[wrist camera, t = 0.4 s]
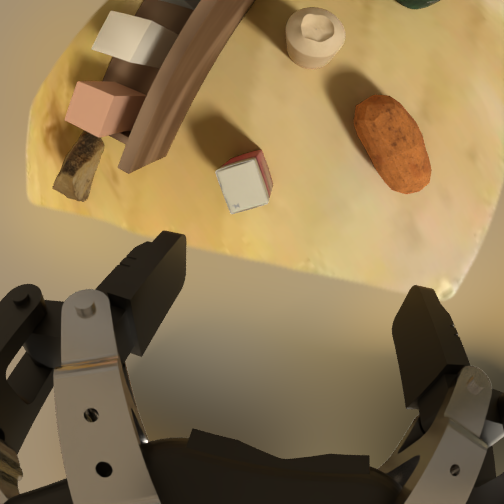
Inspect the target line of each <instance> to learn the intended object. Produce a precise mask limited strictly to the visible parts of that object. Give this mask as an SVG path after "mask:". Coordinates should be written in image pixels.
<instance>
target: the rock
mask: <svg viewBox="0 0 504 504" xmlns="http://www.w3.org/2000/svg"><path fill="white" fill-rule="evenodd" d="M103 150H104V144H103V142H102V140H101V138H98V137H97V136H95V135H93V134H91V133H89V132H87V131H84V132H83V133H82V134H81V135H80V137H79V140H78V141H77V142H76V143H75V144H74V146H73V147H72V149H71V150H70V152H69V153H68V154H67V156H66V158H65V160H64V162H63V165H62V168H61V170H60V172H59V174H58V176H57V177H56V179H55V182H54V186H53V189H54V190H57V191H58V192H60V193H62V194H64V195H65V196H66V197H67V198H70V199H75V200H77V201H82V202H84V201H86V200H87V199H88V196H89V193H90V188H91V184H92V181H93V177H94V174H95V171H96V169H97V166H98V164H99V162H100V158H101V154H102V153H103Z"/></svg>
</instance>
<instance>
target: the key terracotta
mask: <svg viewBox="0 0 504 504" xmlns="http://www.w3.org/2000/svg"><path fill="white" fill-rule="evenodd" d="M146 96H147V95H145V94H142V93H140V92H138V91H135V90H133V89H131V88H128V87H126V86H124V85H121V84H119V83H116V82H110V81H78V82H77V85H76V87H75V90H74V93H73V96H72V99H71V101H70V104H69V108H68V111H67V114H66V117H65V121H67V122H69V123H71V124H73V125H75V126H77V127H79V128H81V129H83V130H85V131H87V132H89V133H91V134H93V135H95V136H97V137H98V138H100V137H103V136H107V135H111V134H116V133H120V132H124V131H129V130H132V128H133V126H134V123H135V121H136V119H137V116H138V114H139V112H140V109H141V107H142V105H143V103H144V101H145V98H146Z"/></svg>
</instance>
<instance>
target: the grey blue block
mask: <svg viewBox="0 0 504 504" xmlns="http://www.w3.org/2000/svg"><path fill="white" fill-rule="evenodd" d="M161 1H165V2H169V3H172V4H176V5H179V6H183V7H186V8H189V9H193V10H195V8H196V7H197V5H198V4H199V2H200V1H201V0H161Z"/></svg>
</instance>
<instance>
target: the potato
mask: <svg viewBox="0 0 504 504" xmlns="http://www.w3.org/2000/svg"><path fill="white" fill-rule="evenodd" d="M354 126H355V129H356V132H357V135H358V137H359V139H360V140H361V142H362V144H363V146H364V147H365V149H366V151H367V153H368V155H369V156H370V158H371V160H372V162H373V164H374V166H375V168H376V170H377V172H378V173H379V175H380V176H381V177H382V179H383V180H384V182H385V183H386V184H387V185H388V186H389V187H390V188H391V189H392V190H394V191H397V192H400V193H404V194H409V193H414V192H418V191H420V190H421V189H423V188H424V187H425V186H426V185H427V184H428V183H429V181H430V176H431V166H430V161H429V157H428V154H427V151H426V148H425V144H424V140H423V136H422V134H421V132H420V129H419V127H418V125H417V123H416V121H415V120H414V119H413V118H412V117H411V115H410V114H409V113H408V112H407V111H406V110H405V108H404V107H403V106H402V105H401V104H400V103H399V102H398V101H396V100H395V99H393V98H392V97H390V96H385V95H373V96H371V97H369V98H368V99H366V100H364V101H363V102H361V103H360V104H358V105H356V109H355V115H354Z"/></svg>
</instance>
